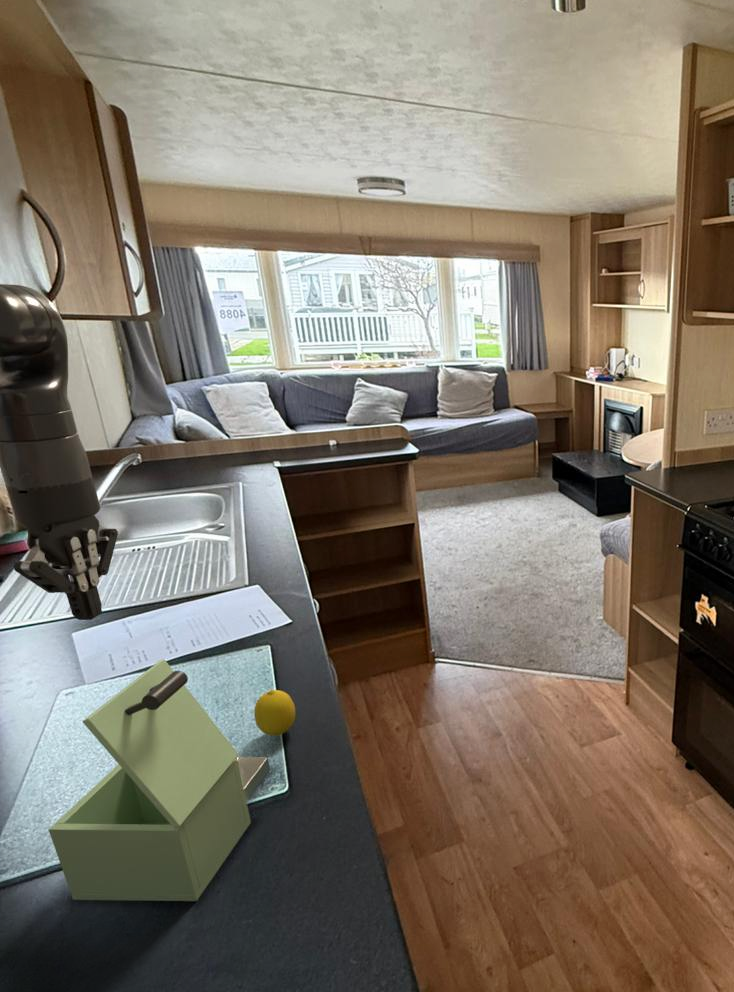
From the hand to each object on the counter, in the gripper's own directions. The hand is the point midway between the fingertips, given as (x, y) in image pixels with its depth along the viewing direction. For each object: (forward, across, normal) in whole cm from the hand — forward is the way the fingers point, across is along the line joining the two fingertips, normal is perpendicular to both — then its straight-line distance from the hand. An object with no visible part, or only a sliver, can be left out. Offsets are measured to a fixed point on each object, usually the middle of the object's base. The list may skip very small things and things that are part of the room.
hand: (89, 617), depth 78 cm
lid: (+10, +10, +13) cm, 20 cm away
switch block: (+27, -2, +9) cm, 29 cm away
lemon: (+27, -14, +12) cm, 33 cm away
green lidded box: (+27, +10, +10) cm, 30 cm away
